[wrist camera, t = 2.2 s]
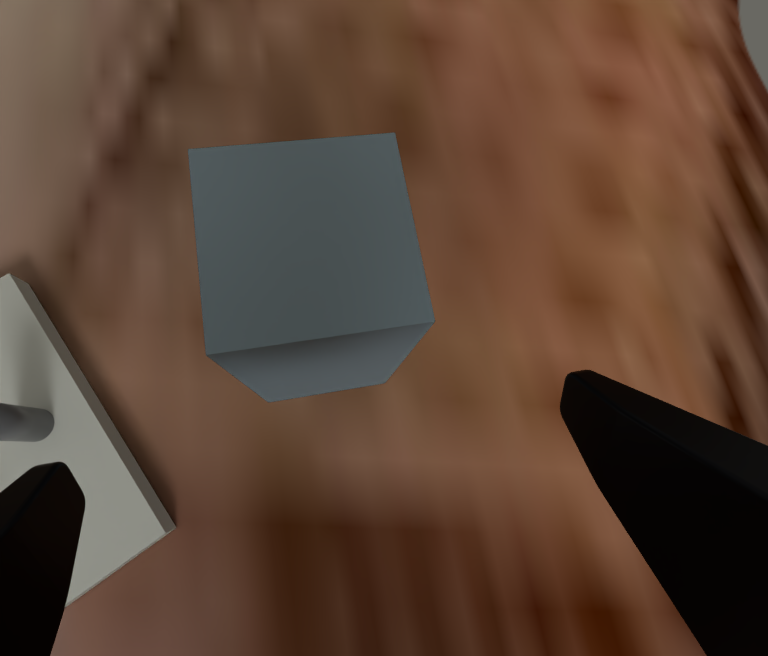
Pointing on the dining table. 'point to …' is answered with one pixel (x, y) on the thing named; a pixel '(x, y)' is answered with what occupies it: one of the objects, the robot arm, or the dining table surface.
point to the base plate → (70, 440)
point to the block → (308, 263)
